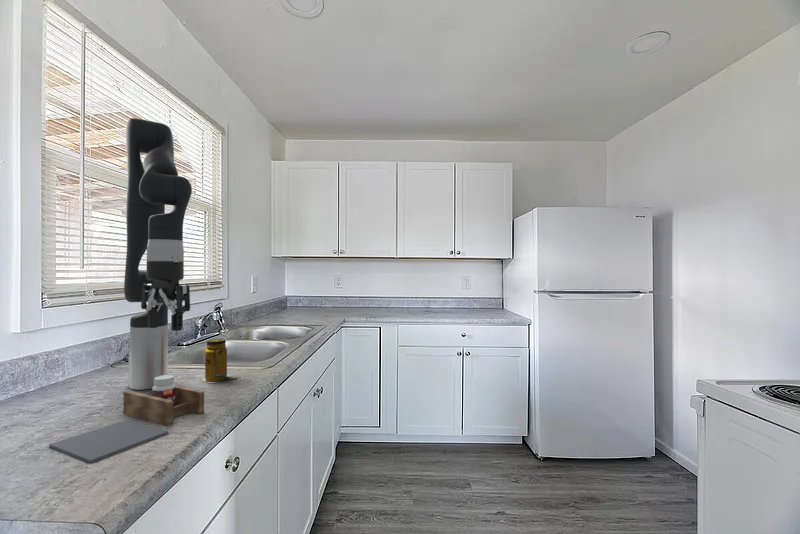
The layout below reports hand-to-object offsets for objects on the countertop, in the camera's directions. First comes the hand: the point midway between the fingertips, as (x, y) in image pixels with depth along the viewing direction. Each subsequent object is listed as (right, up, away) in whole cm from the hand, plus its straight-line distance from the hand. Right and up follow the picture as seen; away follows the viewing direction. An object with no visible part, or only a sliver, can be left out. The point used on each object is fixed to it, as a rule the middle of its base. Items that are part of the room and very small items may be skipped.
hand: (164, 329), depth 94 cm
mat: (-2, -19, -15) cm, 25 cm away
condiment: (0, -20, +29) cm, 35 cm away
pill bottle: (0, -20, 0) cm, 20 cm away
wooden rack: (0, -20, 0) cm, 20 cm away
